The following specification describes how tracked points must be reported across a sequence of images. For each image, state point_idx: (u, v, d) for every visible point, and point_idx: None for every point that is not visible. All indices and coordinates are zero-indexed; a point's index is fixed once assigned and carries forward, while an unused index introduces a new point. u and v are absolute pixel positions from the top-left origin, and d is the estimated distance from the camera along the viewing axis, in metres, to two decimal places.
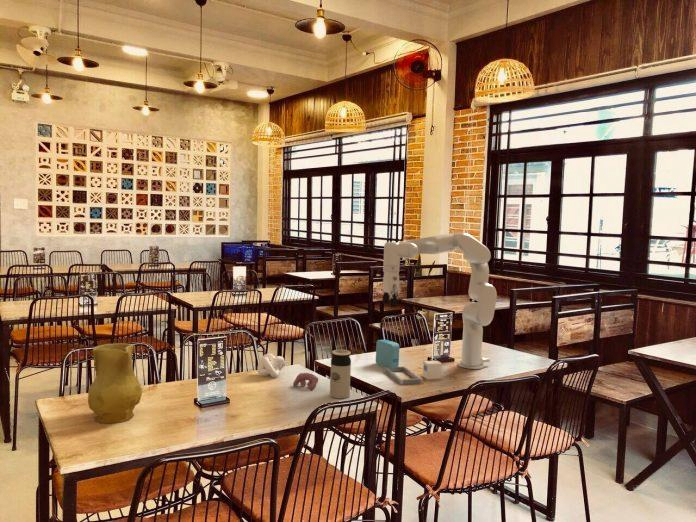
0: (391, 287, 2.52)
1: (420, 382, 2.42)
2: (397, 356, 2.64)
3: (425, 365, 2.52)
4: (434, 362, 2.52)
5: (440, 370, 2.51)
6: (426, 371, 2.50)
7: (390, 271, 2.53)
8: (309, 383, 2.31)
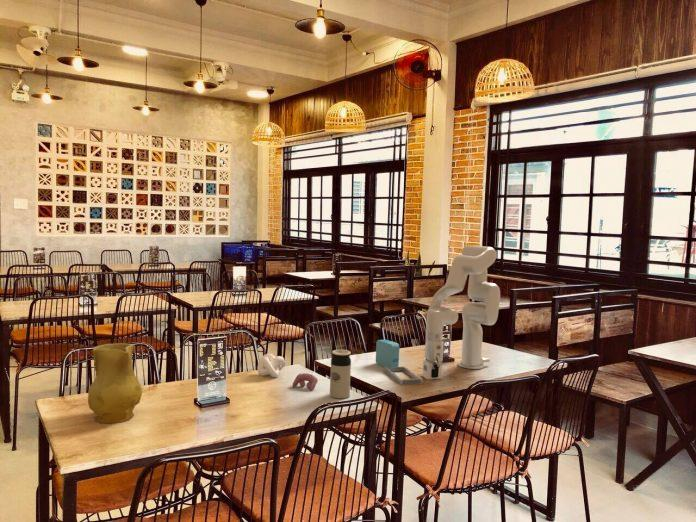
0: (435, 356, 2.47)
1: (420, 382, 2.42)
2: (397, 356, 2.64)
3: (424, 365, 2.52)
4: None
5: (440, 370, 2.51)
6: (426, 371, 2.50)
7: (433, 340, 2.47)
8: (308, 384, 2.30)
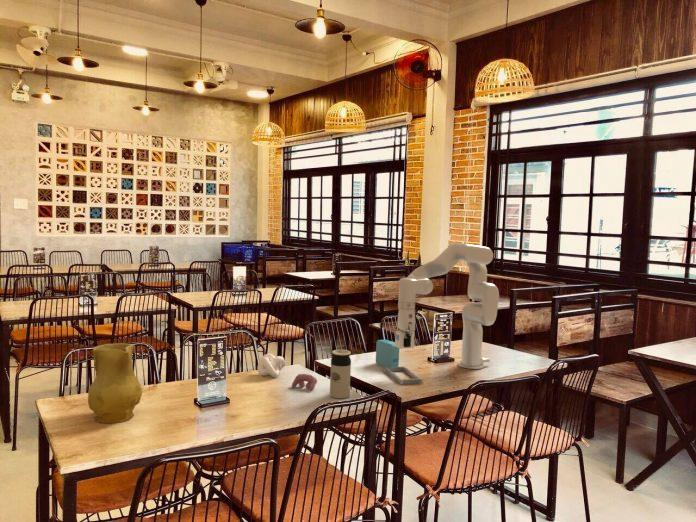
0: (407, 325, 2.43)
1: (420, 382, 2.42)
2: (397, 356, 2.64)
3: (397, 334, 2.48)
4: None
5: (412, 339, 2.48)
6: (398, 340, 2.47)
7: (405, 308, 2.44)
8: (308, 384, 2.29)
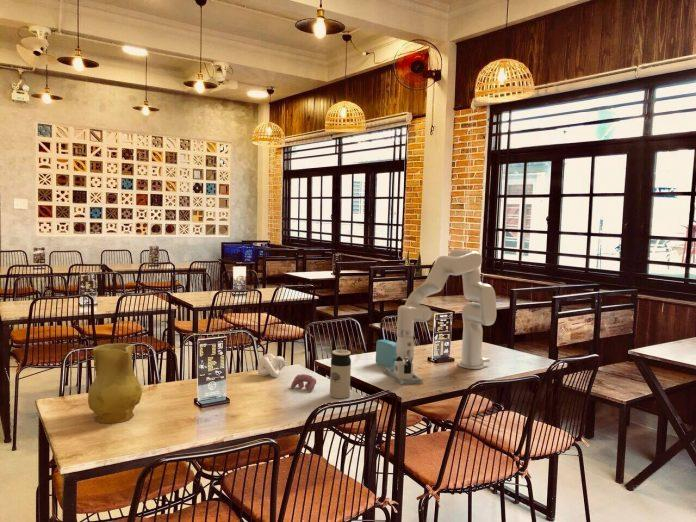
0: (405, 353, 2.44)
1: (420, 382, 2.42)
2: None
3: (396, 365, 2.50)
4: None
5: (411, 370, 2.49)
6: (397, 371, 2.48)
7: (404, 336, 2.45)
8: (307, 385, 2.28)
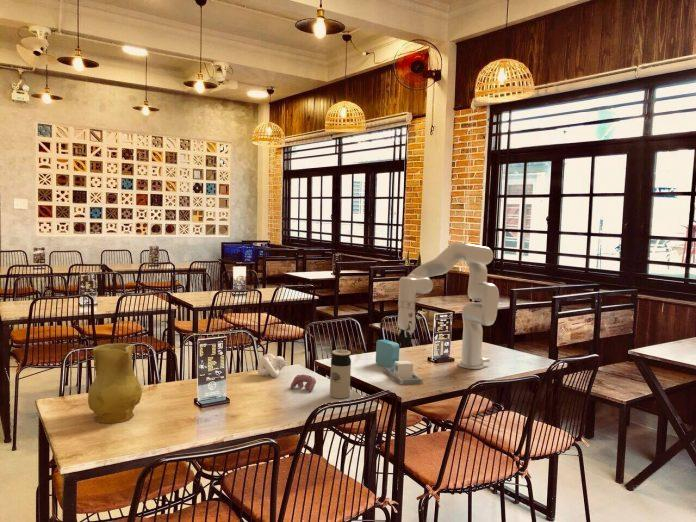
0: (407, 324, 2.43)
1: (420, 382, 2.42)
2: (397, 356, 2.64)
3: (396, 365, 2.50)
4: (405, 362, 2.50)
5: (411, 370, 2.49)
6: (397, 371, 2.48)
7: (405, 307, 2.44)
8: (307, 385, 2.28)
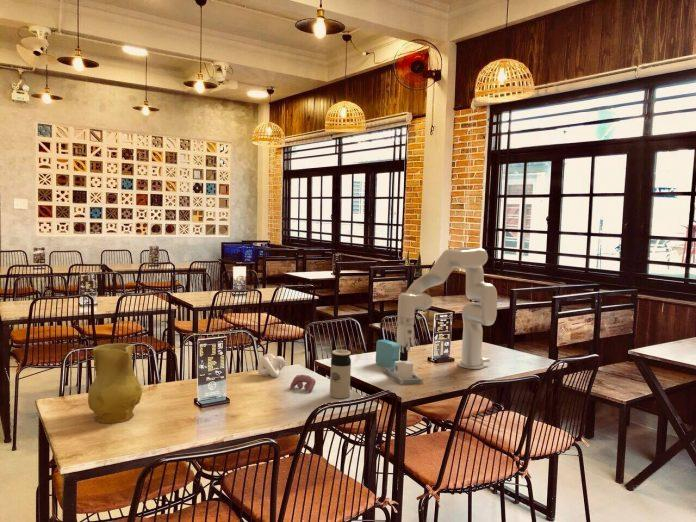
0: (406, 340, 2.44)
1: (420, 382, 2.42)
2: (397, 356, 2.64)
3: (396, 365, 2.50)
4: (405, 362, 2.50)
5: (411, 370, 2.49)
6: (397, 371, 2.48)
7: (405, 324, 2.45)
8: (306, 385, 2.28)
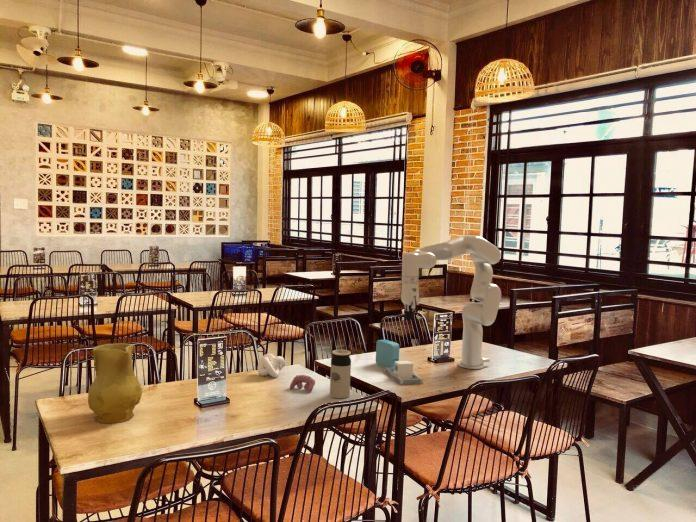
0: (411, 299, 2.46)
1: (420, 382, 2.42)
2: (397, 356, 2.64)
3: (396, 365, 2.50)
4: (405, 362, 2.50)
5: (411, 370, 2.49)
6: (397, 371, 2.48)
7: (409, 282, 2.47)
8: (306, 385, 2.27)
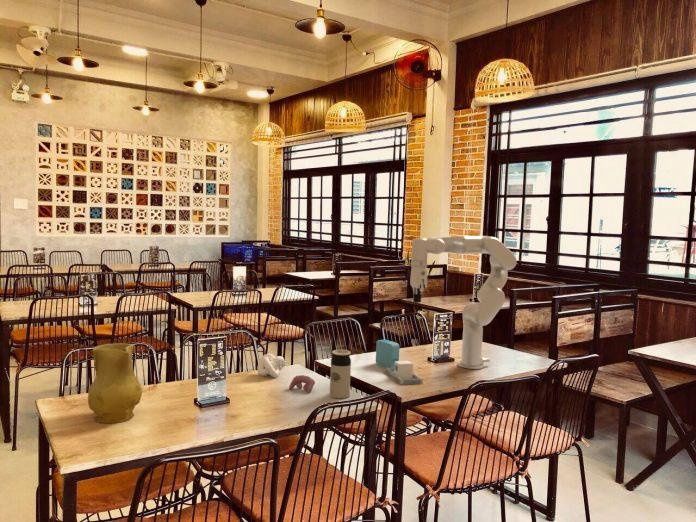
0: (419, 282, 2.59)
1: (420, 382, 2.42)
2: (397, 356, 2.64)
3: (396, 365, 2.50)
4: (405, 362, 2.50)
5: (411, 370, 2.49)
6: (397, 371, 2.48)
7: (418, 266, 2.59)
8: (305, 386, 2.27)
